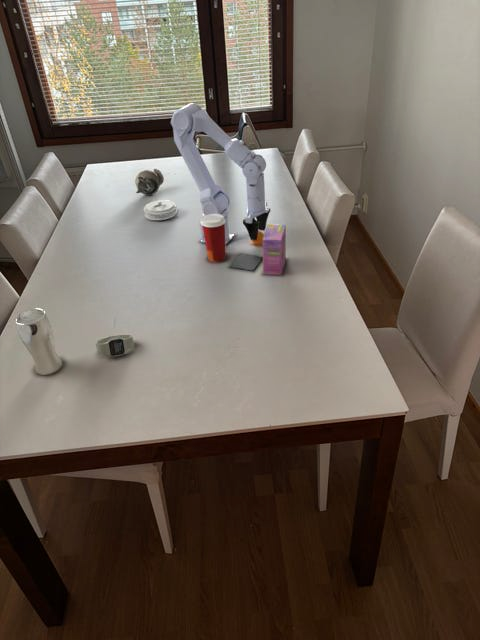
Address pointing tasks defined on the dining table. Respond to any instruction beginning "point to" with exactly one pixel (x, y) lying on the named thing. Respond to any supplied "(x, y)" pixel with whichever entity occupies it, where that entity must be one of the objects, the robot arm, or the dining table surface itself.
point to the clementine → (259, 239)
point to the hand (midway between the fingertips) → (257, 234)
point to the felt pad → (246, 262)
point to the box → (274, 249)
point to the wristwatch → (115, 344)
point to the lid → (160, 210)
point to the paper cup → (214, 236)
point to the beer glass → (38, 340)
